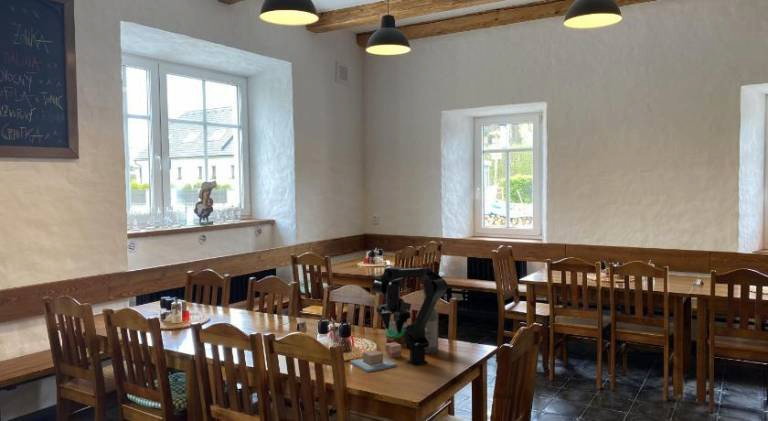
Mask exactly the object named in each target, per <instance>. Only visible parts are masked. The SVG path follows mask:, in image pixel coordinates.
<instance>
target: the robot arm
mask: <svg viewBox="0 0 768 421" xmlns="http://www.w3.org/2000/svg"><path fill="white" fill-rule="evenodd" d="M404 278H420V280H421V283H422V286H423V285H424V286H425V288H426V290H425V293H426V298H425V300H424V299H423V302H422V305H421V307H420V309H419V310H420V311H419V310H418V311H419V313H418V312H417V313H418V315H417V314H416V315H417V318H415V320H414V322H413V323H411V324H408V325H407V327H406V330H405V332H404V333H405V334H404V340H405V343H404V344H405V348H406V350H408V351H409V359H408V360H406V362H407V363H409V364H412V365H413V366H420V365H425V364H428V361H427V360H426V353H425V349H424V348H426V347H428V346H429V342H428V340H427V339H426V337H425V333H426V332H425V326H426V324H427V322H428V319H429V317H430V315H431V313H432V311H433V309H435V307H436V304H437V302H439V300H440V299H441V298H443V296H444V295H445V294H446V293H447V290H448V288H449V286H448V283H447V281H446V280H445V279H444V278H443V277H442V276H441V274H439V273H436V272H435V271H433V270H432V268H430V267H428V266H425V267H424V266H423V267H414V268H412V267H410V268H409V267H408V268H404V267H403V266H398V265H397V266H391V267H386V268H385V269H384V272H383V274H382V276H381V277H375V280H374V282H373V283H372V286H371V289H372V291H373V292H374V293H375V294H377V293H378V294H382V295H386V296H385V297H384V301H386V304H379V305H377V306H376V313H378V316H379V318H380V319H381V321H382V323H383V326H384V325H385V326H384V327H386V328H385V330H386V329H389V322H391V316H392V315H393V316H394V318H393V320H394V321H393V322H395V325H396V329H397V332H398V334H400V333H401V330H402V327H403V324H404V323H406V322H407V320H409V319H411V314H412V313H411V312H410V311H411V307H412V303H409V302H406V301H405V300H404V299H403V298H402V297H400V296H401V293H400V288H401V287H403V286H404V284H403V283H402V282H401V279H404ZM416 343H419V344H417V345H416Z"/></svg>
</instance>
